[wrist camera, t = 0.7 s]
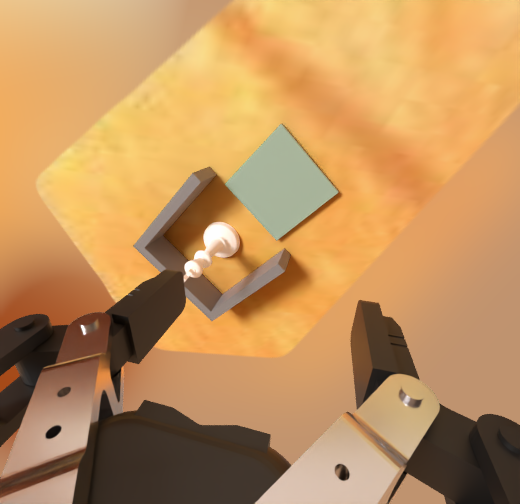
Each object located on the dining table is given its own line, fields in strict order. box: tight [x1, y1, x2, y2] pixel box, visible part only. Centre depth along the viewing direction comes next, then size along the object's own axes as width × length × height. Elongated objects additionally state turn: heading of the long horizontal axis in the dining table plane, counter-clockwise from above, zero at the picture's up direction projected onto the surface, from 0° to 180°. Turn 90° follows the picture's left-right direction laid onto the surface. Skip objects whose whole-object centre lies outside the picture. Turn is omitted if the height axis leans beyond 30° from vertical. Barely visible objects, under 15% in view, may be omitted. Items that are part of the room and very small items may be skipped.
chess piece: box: [183, 222, 240, 282], centre depth 30 cm, size 5×5×10 cm
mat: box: [225, 124, 339, 240], centre depth 29 cm, size 9×9×1 cm
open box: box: [134, 167, 291, 321], centre depth 33 cm, size 14×14×4 cm
